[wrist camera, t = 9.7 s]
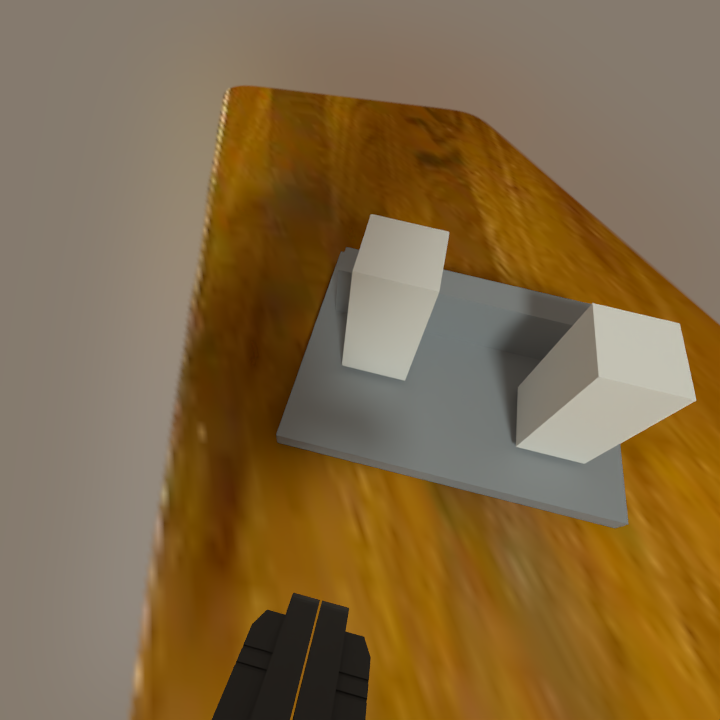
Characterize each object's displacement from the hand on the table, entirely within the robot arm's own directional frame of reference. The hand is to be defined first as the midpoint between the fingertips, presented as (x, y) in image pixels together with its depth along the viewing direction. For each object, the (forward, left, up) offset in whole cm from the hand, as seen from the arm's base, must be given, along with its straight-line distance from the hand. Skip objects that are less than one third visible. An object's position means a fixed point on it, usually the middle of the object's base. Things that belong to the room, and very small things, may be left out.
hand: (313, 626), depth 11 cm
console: (+5, -15, -11) cm, 19 cm away
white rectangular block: (0, -17, -10) cm, 20 cm away
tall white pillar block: (+10, -12, -10) cm, 18 cm away
